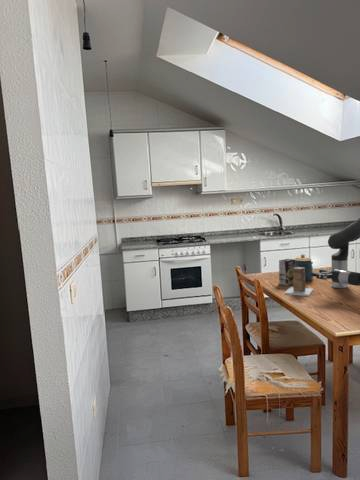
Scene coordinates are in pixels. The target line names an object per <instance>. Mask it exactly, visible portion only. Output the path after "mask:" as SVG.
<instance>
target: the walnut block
mask: <svg viewBox="0 0 360 480" xmlns="http://www.w3.org/2000/svg"><path fill="white" fill-rule="evenodd" d="M292 287H293V291H297V292H302V291H305V288H306V281H305V268H303V267H295V268H293V284H292Z"/></svg>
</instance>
